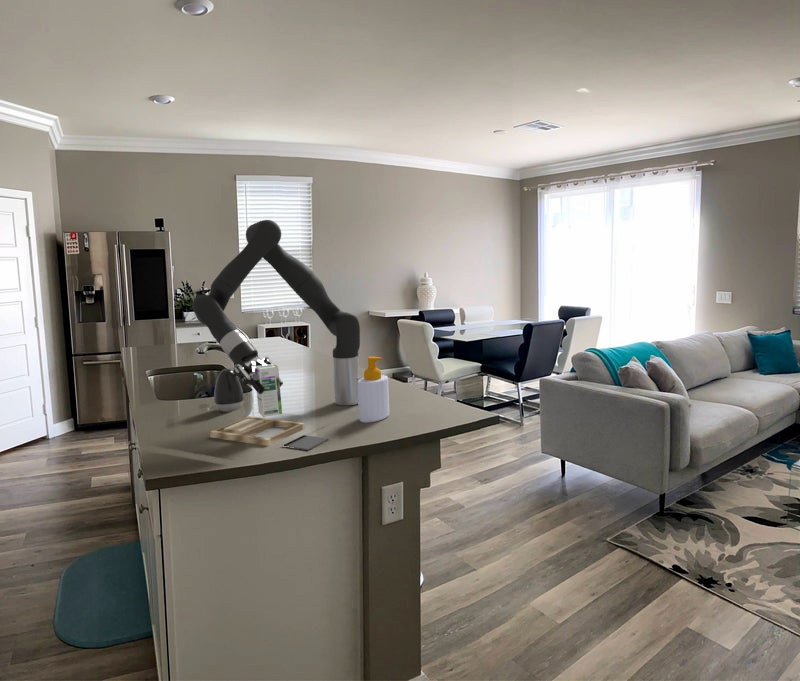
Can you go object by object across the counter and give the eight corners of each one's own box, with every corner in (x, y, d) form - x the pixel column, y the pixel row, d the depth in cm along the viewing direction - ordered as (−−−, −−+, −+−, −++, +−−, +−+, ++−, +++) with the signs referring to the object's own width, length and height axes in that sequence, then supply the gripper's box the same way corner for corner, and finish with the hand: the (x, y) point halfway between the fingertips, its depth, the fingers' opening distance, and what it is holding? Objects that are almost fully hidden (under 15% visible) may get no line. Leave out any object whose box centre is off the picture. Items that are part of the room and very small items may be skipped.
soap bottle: (373, 424, 183) (370, 361, 180) (352, 421, 187) (349, 359, 184) (395, 414, 194) (393, 354, 191) (375, 411, 198) (372, 353, 195)
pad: (279, 446, 165) (279, 444, 165) (300, 436, 174) (300, 434, 173) (308, 450, 160) (308, 449, 160) (328, 440, 169) (328, 438, 169)
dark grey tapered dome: (236, 414, 201) (233, 371, 198) (209, 414, 203) (205, 371, 200) (250, 407, 210) (247, 366, 208) (224, 406, 213) (220, 365, 210)
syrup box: (263, 417, 168) (259, 368, 165) (258, 412, 173) (254, 365, 170) (282, 414, 170) (278, 366, 168) (276, 409, 175) (273, 362, 173)
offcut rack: (210, 441, 172) (209, 431, 172) (249, 425, 187) (249, 416, 187) (268, 450, 162) (268, 439, 162) (305, 432, 177) (304, 423, 177)
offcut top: (224, 435, 173) (223, 428, 173) (247, 424, 183) (247, 418, 183) (241, 437, 171) (240, 430, 171) (264, 426, 181) (263, 420, 180)
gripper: (227, 344, 165) (262, 386, 162) (260, 336, 178) (293, 375, 174) (215, 361, 168) (249, 403, 165) (248, 352, 181) (281, 391, 177)
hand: (272, 388), depth 170 cm, fingers closed on syrup box, 7 cm apart
